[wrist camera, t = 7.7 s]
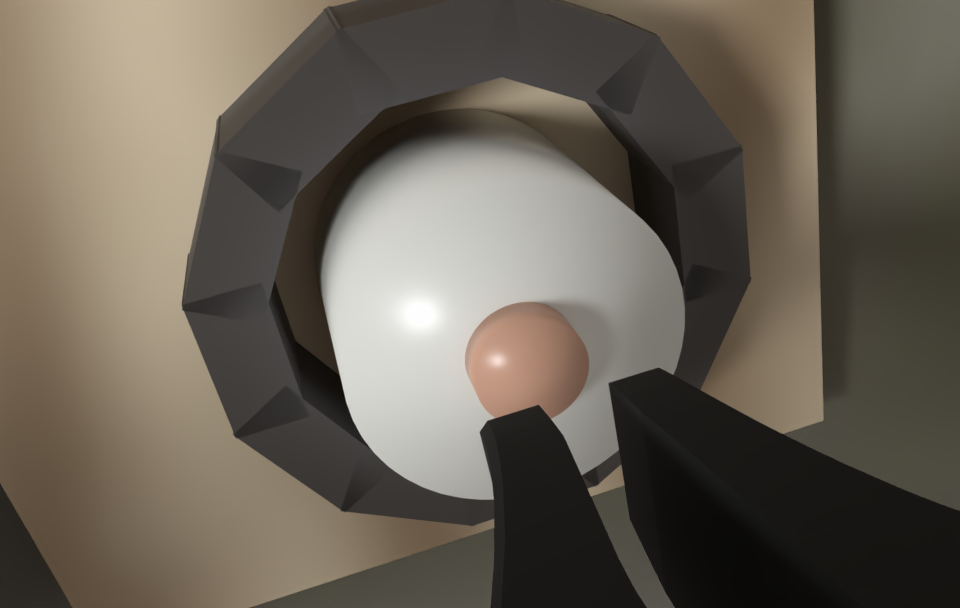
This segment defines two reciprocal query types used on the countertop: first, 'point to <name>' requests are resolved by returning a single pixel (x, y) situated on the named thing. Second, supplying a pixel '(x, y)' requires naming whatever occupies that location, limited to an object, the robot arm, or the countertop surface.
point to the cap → (485, 294)
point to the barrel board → (291, 258)
